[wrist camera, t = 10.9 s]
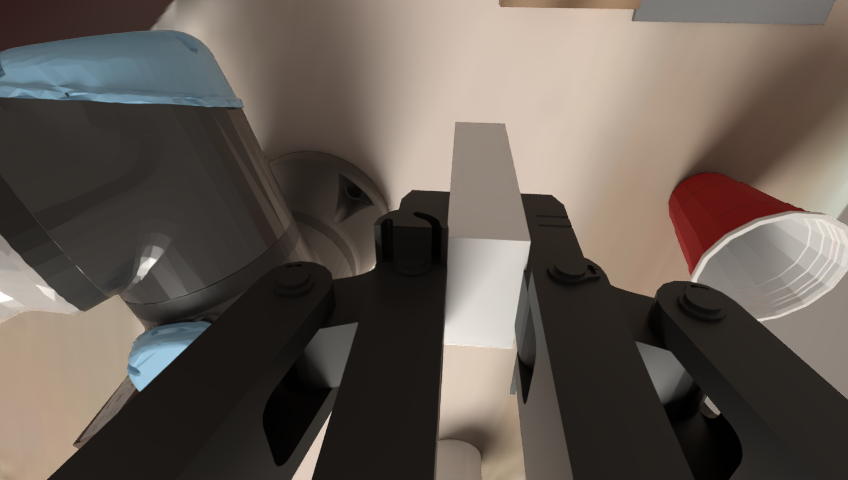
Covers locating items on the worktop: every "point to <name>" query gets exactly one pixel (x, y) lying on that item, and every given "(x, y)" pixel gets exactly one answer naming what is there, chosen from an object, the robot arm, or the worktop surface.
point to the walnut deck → (573, 4)
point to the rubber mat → (735, 11)
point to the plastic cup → (756, 245)
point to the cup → (457, 461)
